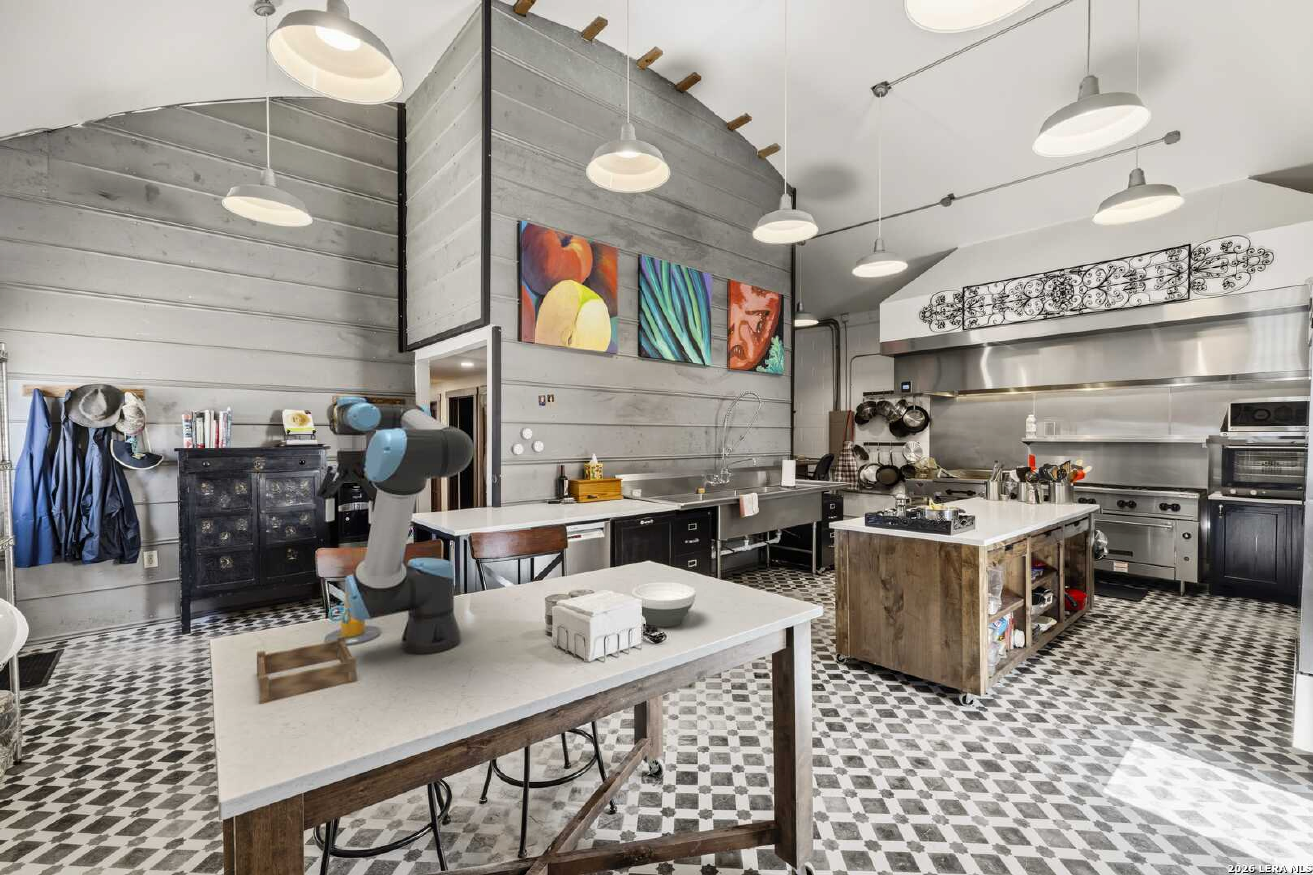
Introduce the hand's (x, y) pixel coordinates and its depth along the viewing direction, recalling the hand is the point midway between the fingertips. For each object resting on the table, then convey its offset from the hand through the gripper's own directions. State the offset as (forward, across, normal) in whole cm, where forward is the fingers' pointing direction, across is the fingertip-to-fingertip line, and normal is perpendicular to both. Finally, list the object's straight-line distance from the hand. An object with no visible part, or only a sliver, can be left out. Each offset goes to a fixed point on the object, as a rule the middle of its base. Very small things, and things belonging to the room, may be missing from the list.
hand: (351, 521), depth 165 cm
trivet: (+32, -5, +6) cm, 33 cm away
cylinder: (+31, -5, +6) cm, 32 cm away
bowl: (+31, -91, -18) cm, 98 cm away
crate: (+31, -12, +32) cm, 46 cm away
